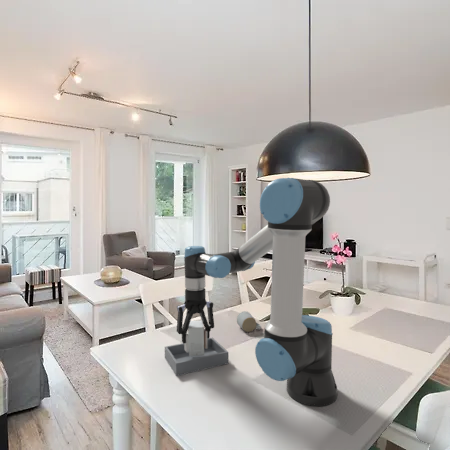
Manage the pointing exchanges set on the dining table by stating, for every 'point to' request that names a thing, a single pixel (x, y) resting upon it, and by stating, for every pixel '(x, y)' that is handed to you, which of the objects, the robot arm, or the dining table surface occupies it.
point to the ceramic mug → (247, 322)
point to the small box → (196, 338)
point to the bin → (195, 358)
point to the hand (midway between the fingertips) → (196, 349)
